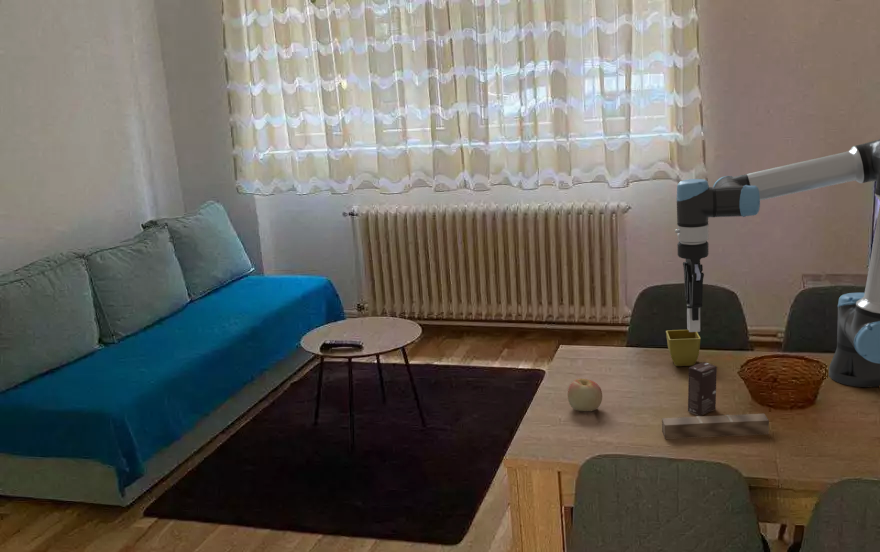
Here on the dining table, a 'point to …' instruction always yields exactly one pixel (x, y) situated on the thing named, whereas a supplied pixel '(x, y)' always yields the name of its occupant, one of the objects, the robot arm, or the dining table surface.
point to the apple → (584, 395)
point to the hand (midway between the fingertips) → (693, 329)
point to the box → (702, 388)
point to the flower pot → (683, 346)
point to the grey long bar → (715, 426)
